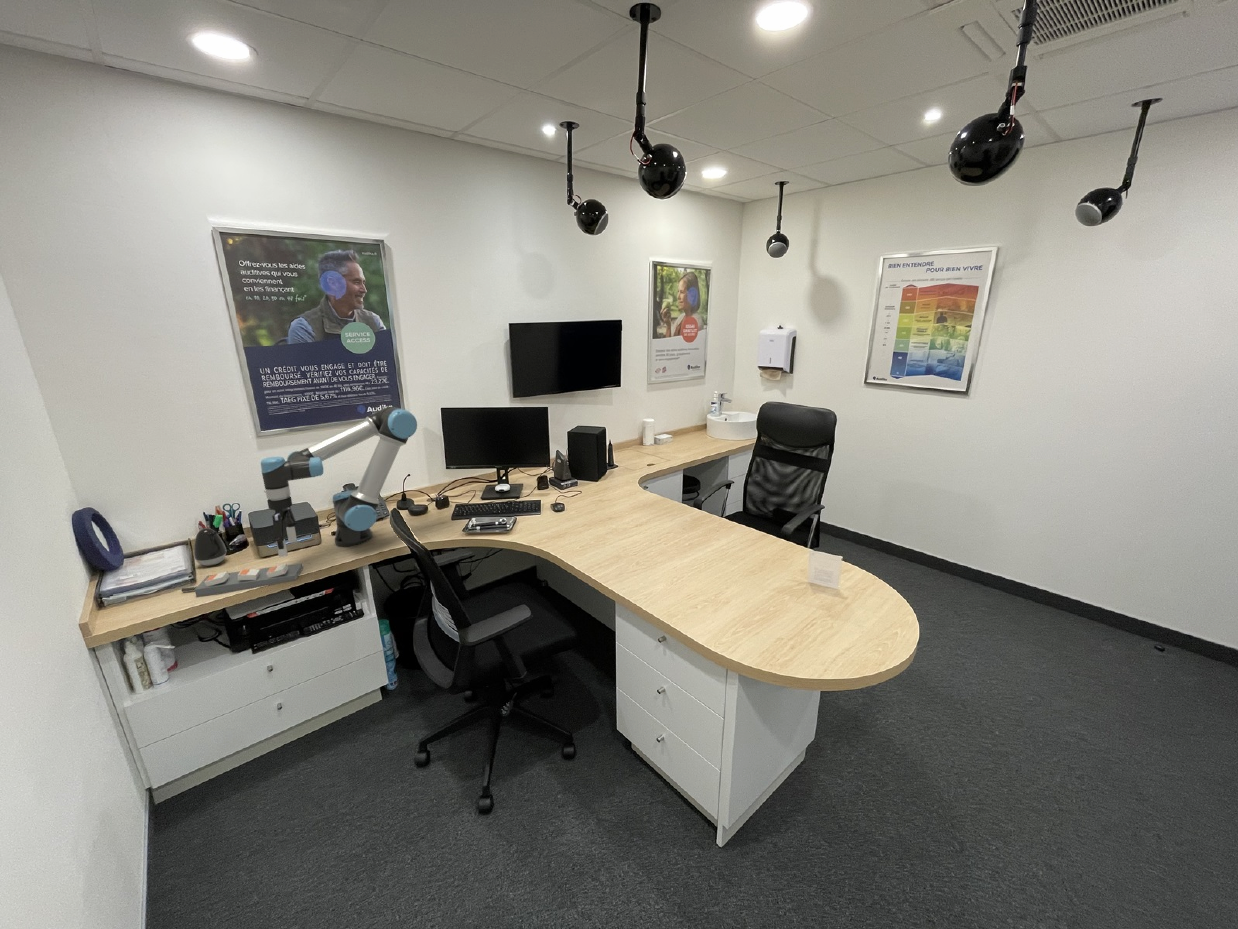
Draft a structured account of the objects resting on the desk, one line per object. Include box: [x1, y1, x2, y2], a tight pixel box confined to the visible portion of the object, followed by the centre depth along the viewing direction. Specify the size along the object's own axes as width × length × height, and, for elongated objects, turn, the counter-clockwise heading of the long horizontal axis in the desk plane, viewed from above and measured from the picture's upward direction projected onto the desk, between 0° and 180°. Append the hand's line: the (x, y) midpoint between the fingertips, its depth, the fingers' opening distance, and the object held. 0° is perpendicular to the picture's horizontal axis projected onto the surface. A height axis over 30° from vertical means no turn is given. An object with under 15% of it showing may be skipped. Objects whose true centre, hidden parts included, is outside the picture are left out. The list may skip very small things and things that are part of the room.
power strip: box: [181, 562, 304, 598], centre depth 184 cm, size 37×11×3 cm, turn 110°
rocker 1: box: [205, 571, 229, 587], centre depth 179 cm, size 6×5×2 cm
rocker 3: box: [267, 563, 289, 578], centre depth 185 cm, size 6×5×2 cm
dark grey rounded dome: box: [193, 527, 228, 567], centre depth 199 cm, size 10×10×15 cm
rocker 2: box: [238, 568, 261, 580], centre depth 182 cm, size 6×5×2 cm
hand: (288, 549), depth 191 cm, fingers open, 13 cm apart
